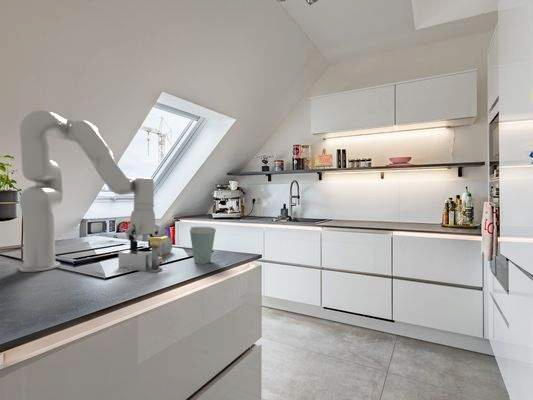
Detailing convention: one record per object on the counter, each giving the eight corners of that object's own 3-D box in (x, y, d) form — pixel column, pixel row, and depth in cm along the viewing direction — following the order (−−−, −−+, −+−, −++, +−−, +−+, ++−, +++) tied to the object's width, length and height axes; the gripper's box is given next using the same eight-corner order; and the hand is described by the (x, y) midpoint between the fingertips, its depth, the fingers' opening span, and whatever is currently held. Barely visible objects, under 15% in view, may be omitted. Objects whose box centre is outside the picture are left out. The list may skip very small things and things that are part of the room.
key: (161, 241, 123) (161, 233, 122) (171, 241, 122) (171, 234, 122) (146, 246, 112) (146, 238, 112) (158, 246, 111) (158, 238, 111)
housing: (118, 267, 118) (117, 243, 118) (128, 264, 123) (128, 241, 122) (155, 272, 111) (155, 247, 110) (165, 269, 115) (164, 245, 115)
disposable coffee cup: (197, 258, 133) (197, 224, 133) (220, 260, 130) (220, 225, 130) (184, 264, 123) (184, 227, 122) (209, 266, 120) (208, 228, 120)
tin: (167, 251, 148) (167, 234, 148) (173, 251, 148) (173, 234, 147) (151, 258, 133) (151, 239, 133) (158, 259, 133) (158, 239, 133)
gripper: (152, 206, 135) (151, 244, 136) (119, 207, 119) (118, 251, 120) (165, 207, 132) (164, 246, 133) (133, 208, 116) (132, 253, 117)
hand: (143, 248), depth 126 cm, fingers open, 9 cm apart
